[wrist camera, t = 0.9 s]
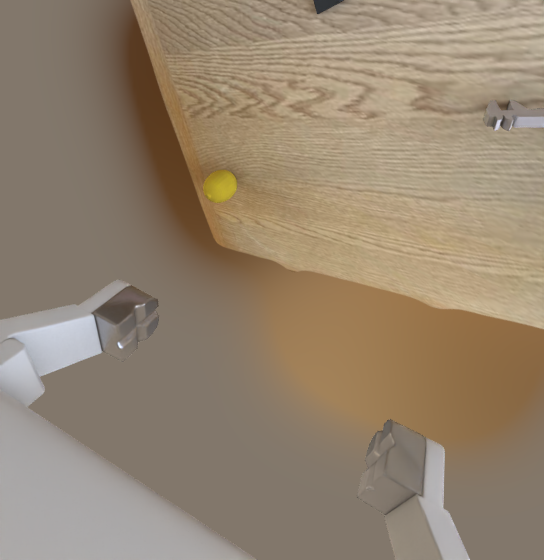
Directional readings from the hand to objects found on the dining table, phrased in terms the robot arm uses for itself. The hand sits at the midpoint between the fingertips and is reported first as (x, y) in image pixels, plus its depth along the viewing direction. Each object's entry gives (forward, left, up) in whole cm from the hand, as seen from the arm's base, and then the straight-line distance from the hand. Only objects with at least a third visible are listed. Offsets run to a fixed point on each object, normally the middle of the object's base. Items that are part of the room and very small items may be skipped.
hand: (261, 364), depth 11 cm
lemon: (+42, +7, -42) cm, 59 cm away
